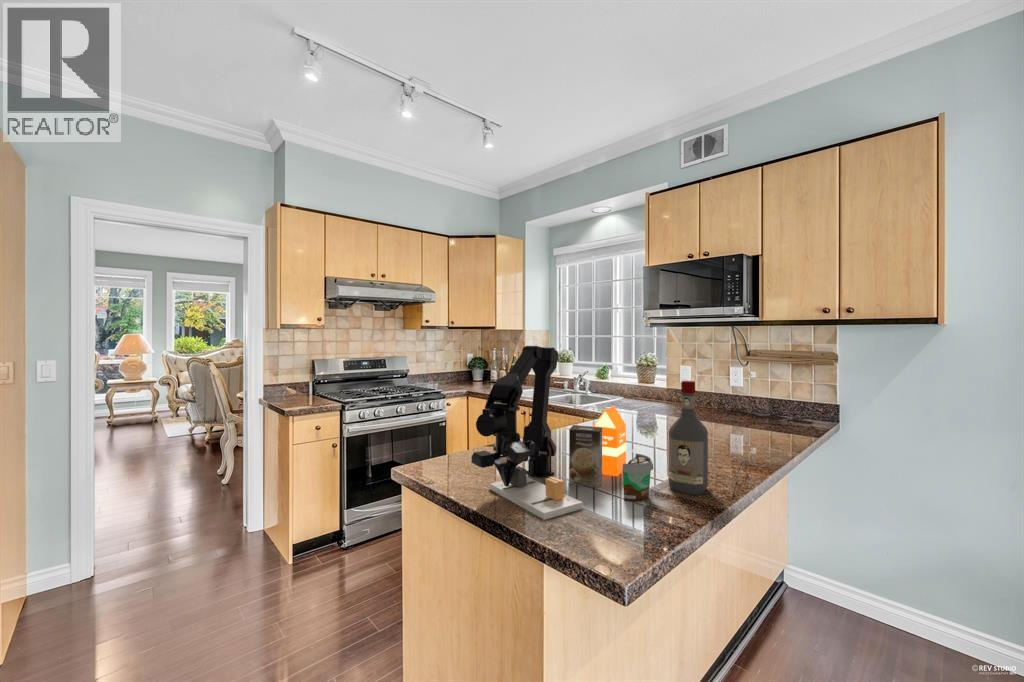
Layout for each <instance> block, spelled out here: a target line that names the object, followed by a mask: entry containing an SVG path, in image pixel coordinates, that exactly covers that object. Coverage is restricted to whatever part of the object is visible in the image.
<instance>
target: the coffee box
mask: <svg viewBox="0 0 1024 682" xmlns="http://www.w3.org/2000/svg"><path fill="white" fill-rule="evenodd" d="M568 431H569V435H568V436H569V437H568V438H569V439H568V440H569V441H568V442H569V444H568V445H569V448H568V449H569V450H568V451H569V453H568V456H569V457H568V458H569V459H568V477H569V478H568V485H575V486H576V485H577V486H582V487H583V486H584V487H593V488H600V487H601V484H602V482H603V474H602V427H593V426H589V425H578V424H577V425H576V424H572V426H571V427H570V429H568Z"/></svg>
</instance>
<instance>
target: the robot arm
mask: <svg viewBox="0 0 1024 682" xmlns="http://www.w3.org/2000/svg"><path fill="white" fill-rule="evenodd" d="M559 355H560V354H559V352H558V351H557V349H556V348H555V347H552V346H551V347H550V346H547V347H544V346H543V347H542V346H539V345H525V346H524V347H522V350H521V354H520V355H519V356H518V358H516V361H515V362H514V363H513V366H512V367H511V368H510V370H509V371H508V373H507V374H506V375H504V376H502V377H500V378H499V379H497V381H496V382H495V383H494V384H493V385H492V387H491V389H490V391H489V395H488V397H487V399H486V403H485V405H484V408H483V409H482V414H480V415H478V417H477V418H476V421H475V427H476V431H477V432H478V433H479V435H481V436H483V437H485V438H486V437H490V436H493V437H495V446H493V448H492V450H493V451H494V452H489V451H486V450H481V451H475V452H473V454H471V458H470V459H471V463H472V464H473V465H475V466H477V467H479V468H480V469H481V468H489V467H493V466H495V468H496V470H497V472H498V474H499V476H500V478H501V481H503V483H504V486H506V487H507V486H509V484H510V481H511V478H512V475H513V472H514V470H515V468H516V467H517V466H519V465H520V464H522V463H523V462H525V463H526V462H528V464H527V465H528V467H527V468H528V470H526V474H530V475H531V476H534V477H535V478H543V477H549V476H552V475H555V471H553V470H552V457H555V456H556V453H557V445H556V444H555V442H554V441H553V439H552V430H551V428H550V426H549V424H548V409H549V401H550V399H549V397H550V388H551V386H550V385H551V378H552V377H551V376H552V375H553V373H554V372H555V370H556V369H557V365H558V362H559V361H558V360H559V357H560V356H559ZM531 371H533V372H534V382H533V393H532V395H533V396H532V403H531V404H532V406H531V417H530V422H529V423H528V424H527V425H525V426H524V427H523V436H522V437H523V438H522V439H521V435H520V433H519V432H518V431H517V429H518V428H517V426H518V425H517V412H518V411H520V410H521V408H520V406H519V405H518V403H519V401H520V399H521V398H522V395H523V392H524V391H523V385H524V382H525V381H526V379H527V377H528V375H529V374H530V373H531Z"/></svg>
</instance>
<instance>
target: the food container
mask: <svg viewBox="0 0 1024 682" xmlns="http://www.w3.org/2000/svg"><path fill="white" fill-rule="evenodd" d="M652 470H654V463H653V460H652V459H651V457H649V456H647V455H645V454H641V453H635V457H633V458H632V459H630V460H628V462H626V464H623V466H622V478H623V479H622V480H623V481H622V483H623V501H624V502H629V503H631V502H633V503H639V502H640V503H641V502H645V501H648V499H650V498H649V497H650V486H651V483H650V482H651V474H652V473H651V472H652Z"/></svg>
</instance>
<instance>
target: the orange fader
mask: <svg viewBox="0 0 1024 682" xmlns="http://www.w3.org/2000/svg"><path fill="white" fill-rule="evenodd" d="M544 482H545V485H546V496H547V497H549V498H551V499H553V500H555V501H556V500H559V499H563V498H564V494H565V481H564V480H562V479H560V478H558V477H556V476H549V477H548V478H545V481H544Z"/></svg>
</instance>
